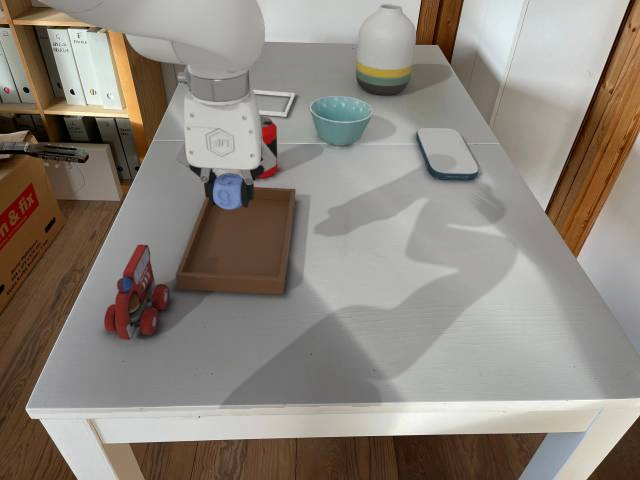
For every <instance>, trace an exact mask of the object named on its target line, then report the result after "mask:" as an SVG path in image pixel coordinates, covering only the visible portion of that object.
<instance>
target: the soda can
mask: <svg viewBox="0 0 640 480" xmlns="http://www.w3.org/2000/svg"><path fill="white" fill-rule="evenodd" d="M260 121H261V129H262V138H263V142H264V143H265V144H266V145H267V147H268V148H269V149H270V151H271V152H272V153H273V154H274V156H275V157H276V158H277V159H278V127H277V125H276V124H275V122H273V120H272V119H271V118H270V117H267V116H264V115H260ZM262 161H263V158H262V157H261V161H260V162H262ZM277 172H278V161H277V162H276V166H274V167H273V168H271V169H269V170H267V171H265V172H263V174H262V175H261V176H259V177H258V178H257V179H267V178H270V177H272V176H274V175H275V174H276V173H277Z"/></svg>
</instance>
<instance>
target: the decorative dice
mask: <svg viewBox="0 0 640 480" xmlns="http://www.w3.org/2000/svg"><path fill="white" fill-rule="evenodd" d="M243 179H244V178H243V176H241V175H240V174H238V173H235V172H226V173H222V174H220V175H218V176H217V178H216V179H215V182H214V186H213V199H214V202H215V203H216V204H217V205H218V206H219V207H221V208H223V209H228V210H231V209H237V208H239V207H241V206H242V205H243V201H242V182H243Z"/></svg>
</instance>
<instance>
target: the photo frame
mask: <svg viewBox="0 0 640 480" xmlns="http://www.w3.org/2000/svg"><path fill="white" fill-rule="evenodd" d="M252 90H253V91H254V93H255V95H264V96H278V97H288V98H289V100H288V102H287V105H286V108H285V110H284V112H283V111H273V110H271V111H270V110H261V109H259V114H260V116H272V117H283V118H286V117H287V116H288V114H289V112H290V109H291V107H292V105H293V103H294V100H295V97H296V93H295V92H283V91H272V90H260V89H252Z"/></svg>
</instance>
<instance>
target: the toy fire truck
mask: <svg viewBox="0 0 640 480" xmlns="http://www.w3.org/2000/svg"><path fill="white" fill-rule="evenodd" d="M155 284H156V283H155V277H154V273H153V267H152V262H151V251H150V246H149V245H148V244H138V245H136V247H135V249H134V250H133V253H132V254H131V256H130V258H129V260H128V262H127V264H126V266H125V268H124V270H123V272H122V277H121V278H119V279H118V280H117V281H116V289H117V290H118V292H117V293H116V296H115V299H114V300H115V301H114V303H112V304H110V305H109V306H108V307H107V309H106V310H105V314H104V319H103V320H104V321H103V323H104V328H105V330H106V331H107V332H112V333H117V337H118V339H120V340H125V341H130V340H132V338H133V336H134V333H135V331H136V329H137V328H138V327H140V328H139V329H140V332H141V334H142V335H149V336H150V335H153V334H154V333H155V332H156V330H157V328H158V324H159V311H164V310H166V308H168V305H169V301H170V287H169V286H168V284H166V283H165V284H164V283H158V284H156V285H155ZM151 300H152V307H148V306H147V304H148V303H150V302H151Z"/></svg>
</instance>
